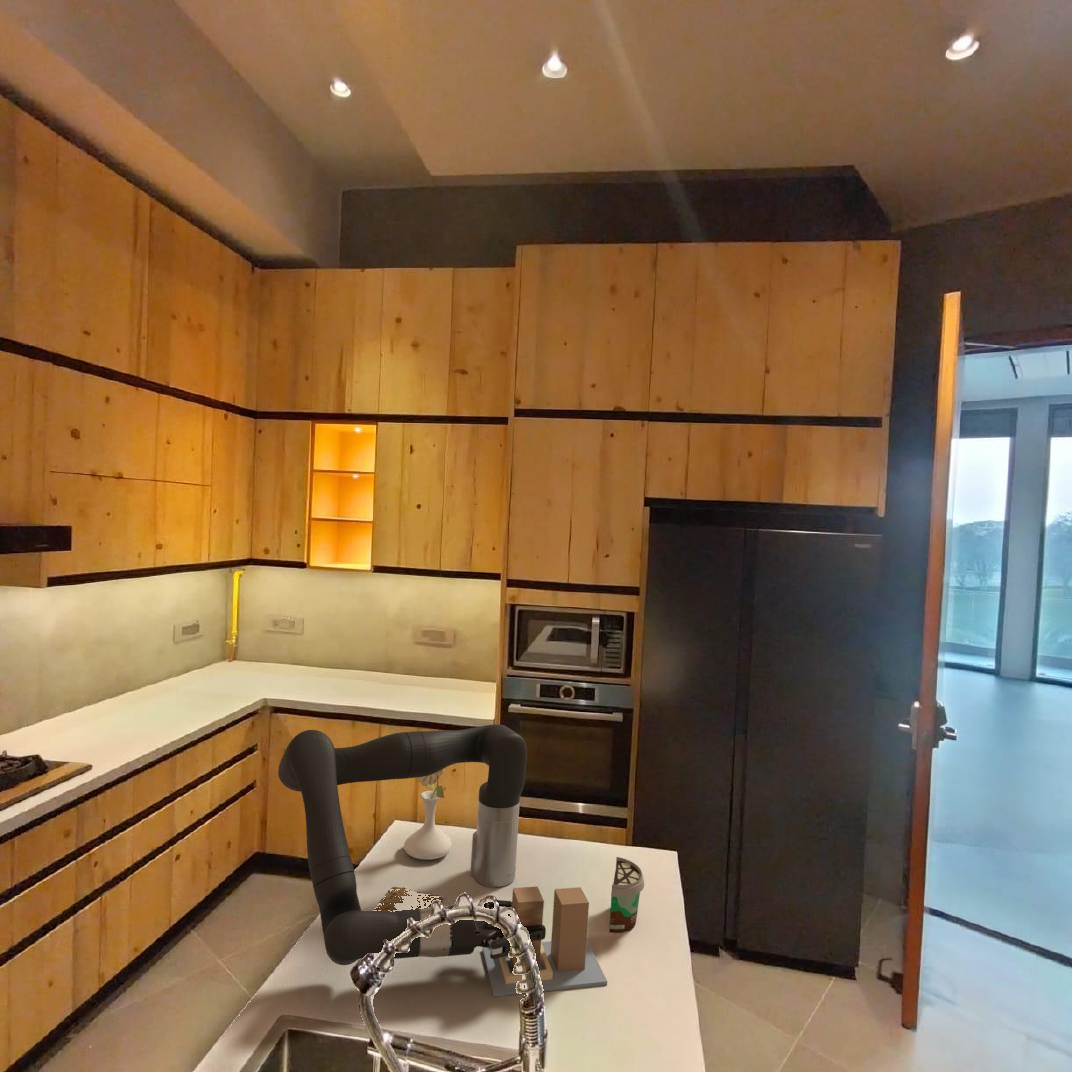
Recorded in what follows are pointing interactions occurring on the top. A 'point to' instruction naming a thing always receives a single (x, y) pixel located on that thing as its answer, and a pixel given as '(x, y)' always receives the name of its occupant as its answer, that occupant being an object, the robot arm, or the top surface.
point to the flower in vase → (429, 825)
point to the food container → (625, 896)
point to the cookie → (392, 899)
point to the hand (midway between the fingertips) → (540, 923)
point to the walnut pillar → (529, 912)
